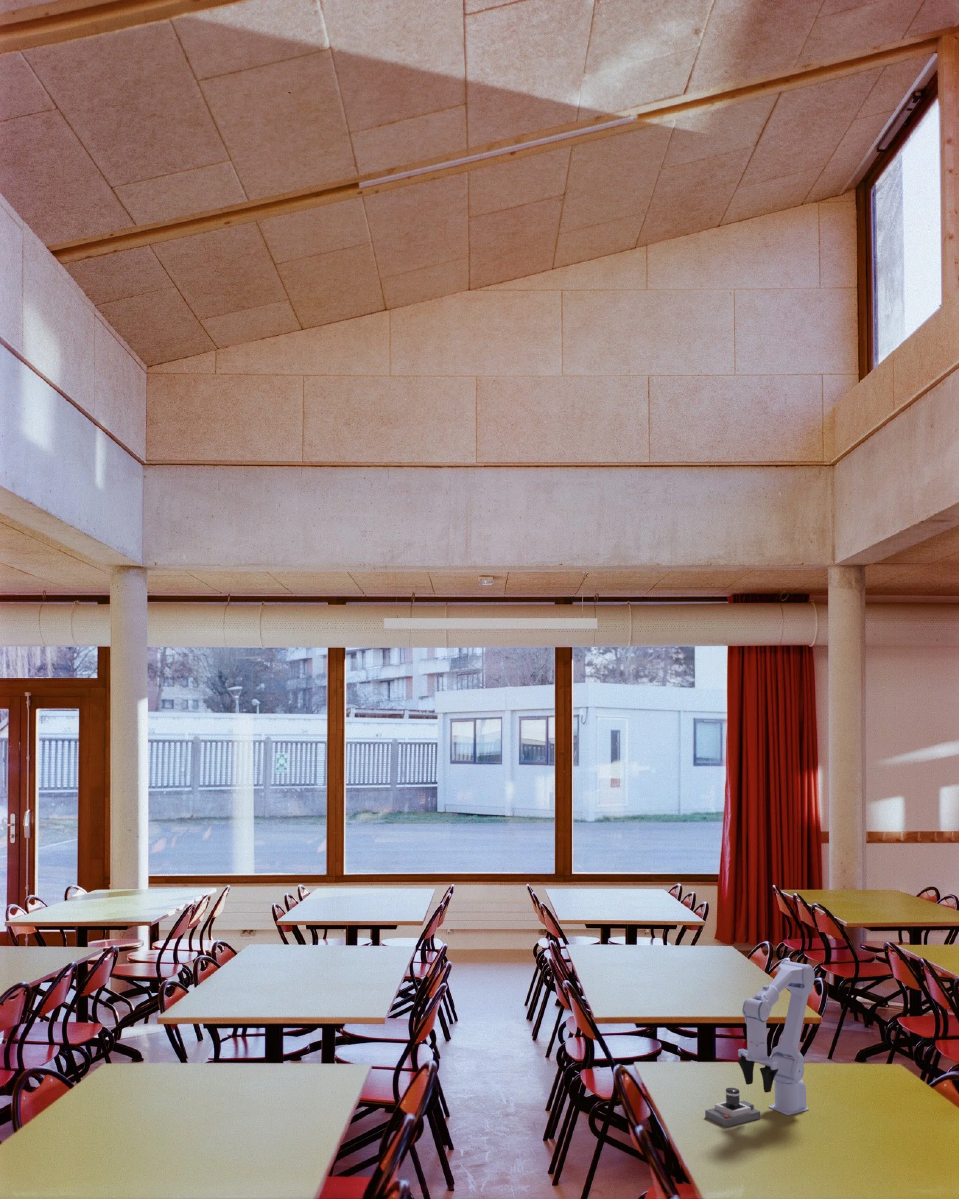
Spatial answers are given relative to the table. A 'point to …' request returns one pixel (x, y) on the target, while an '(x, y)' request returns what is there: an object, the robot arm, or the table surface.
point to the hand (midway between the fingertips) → (758, 1087)
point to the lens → (732, 1098)
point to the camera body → (732, 1114)
